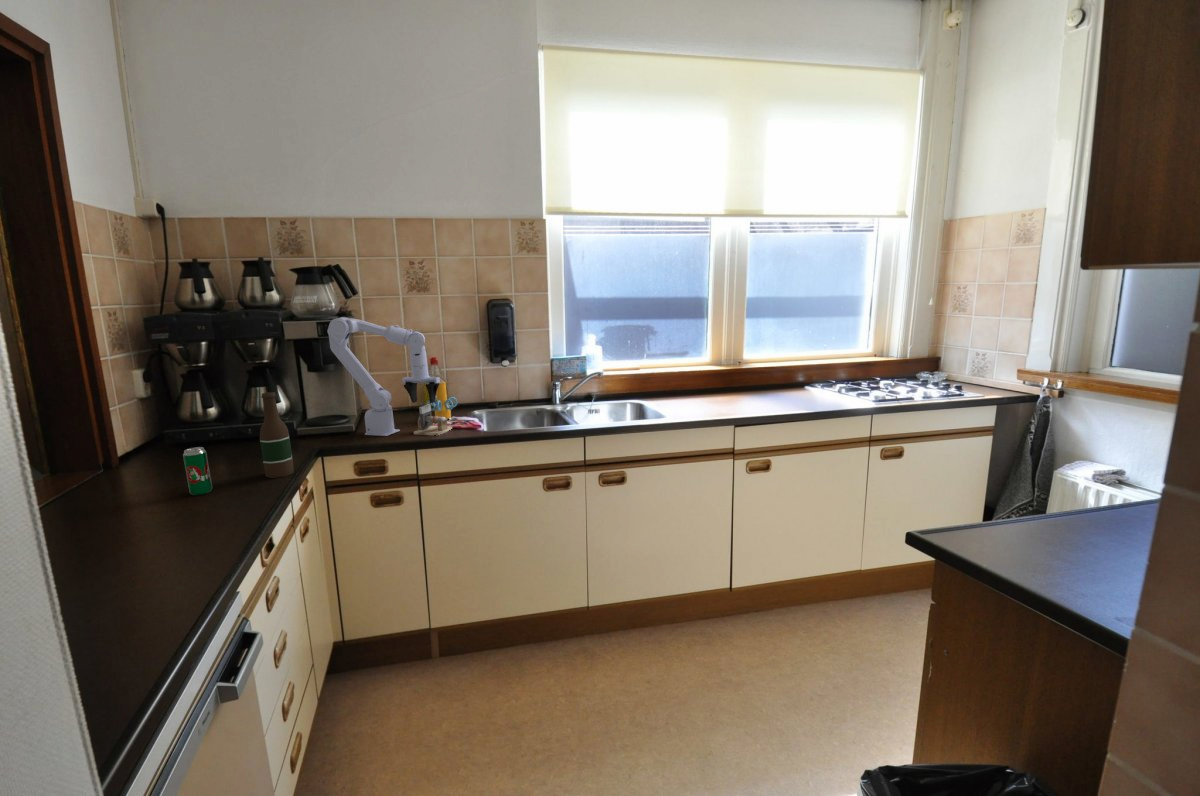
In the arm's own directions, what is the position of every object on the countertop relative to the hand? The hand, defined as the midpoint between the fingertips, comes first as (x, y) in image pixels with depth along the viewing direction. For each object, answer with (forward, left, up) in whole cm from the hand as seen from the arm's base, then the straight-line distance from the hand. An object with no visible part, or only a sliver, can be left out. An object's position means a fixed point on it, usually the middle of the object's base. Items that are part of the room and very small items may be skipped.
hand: (423, 402), depth 214 cm
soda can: (-21, -72, -11) cm, 75 cm away
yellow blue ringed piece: (-3, +15, -11) cm, 19 cm away
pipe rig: (+4, -2, -10) cm, 11 cm away
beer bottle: (-12, -54, -11) cm, 56 cm away
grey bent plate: (+2, -2, -9) cm, 9 cm away
